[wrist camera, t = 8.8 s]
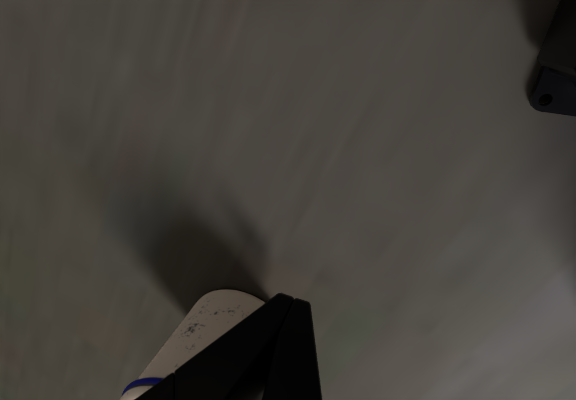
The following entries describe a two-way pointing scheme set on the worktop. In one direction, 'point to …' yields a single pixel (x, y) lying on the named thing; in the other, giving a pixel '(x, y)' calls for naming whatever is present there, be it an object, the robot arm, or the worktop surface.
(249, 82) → the worktop surface
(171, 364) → the teacup with lid
